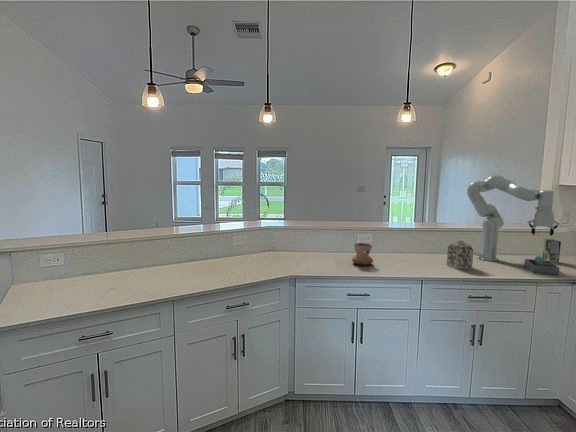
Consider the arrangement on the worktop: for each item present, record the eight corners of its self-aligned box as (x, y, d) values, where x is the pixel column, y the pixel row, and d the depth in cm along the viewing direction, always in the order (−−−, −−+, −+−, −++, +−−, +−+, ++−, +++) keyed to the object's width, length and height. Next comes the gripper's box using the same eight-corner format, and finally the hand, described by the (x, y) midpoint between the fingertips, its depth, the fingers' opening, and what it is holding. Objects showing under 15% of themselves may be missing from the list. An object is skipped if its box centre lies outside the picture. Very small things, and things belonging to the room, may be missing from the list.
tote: (558, 275, 209) (559, 267, 208) (531, 272, 214) (532, 265, 214) (548, 268, 225) (549, 260, 225) (524, 265, 231) (525, 258, 230)
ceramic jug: (374, 267, 226) (375, 247, 225) (353, 266, 228) (353, 246, 226) (370, 261, 244) (371, 242, 243) (350, 260, 245) (351, 241, 244)
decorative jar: (446, 264, 234) (447, 239, 232) (461, 264, 235) (463, 239, 233) (456, 269, 222) (458, 243, 220) (472, 269, 223) (474, 242, 221)
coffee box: (559, 264, 235) (561, 241, 233) (548, 263, 237) (551, 241, 235) (551, 260, 244) (554, 239, 242) (541, 260, 246) (544, 238, 244)
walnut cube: (539, 271, 215) (540, 263, 214) (536, 269, 219) (537, 261, 219) (548, 272, 213) (549, 264, 212) (546, 270, 217) (546, 262, 217)
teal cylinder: (534, 265, 227) (535, 255, 226) (543, 267, 224) (544, 256, 223) (534, 267, 223) (535, 257, 222) (543, 268, 220) (544, 258, 219)
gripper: (530, 209, 218) (528, 234, 220) (563, 210, 212) (560, 236, 214) (527, 208, 225) (525, 233, 227) (558, 209, 218) (556, 234, 221)
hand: (542, 234), depth 221 cm, fingers open, 9 cm apart
